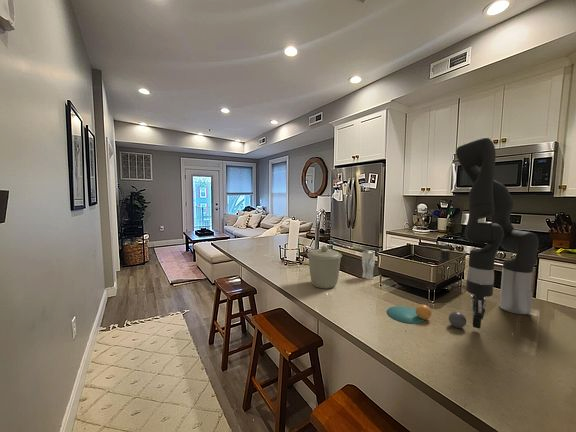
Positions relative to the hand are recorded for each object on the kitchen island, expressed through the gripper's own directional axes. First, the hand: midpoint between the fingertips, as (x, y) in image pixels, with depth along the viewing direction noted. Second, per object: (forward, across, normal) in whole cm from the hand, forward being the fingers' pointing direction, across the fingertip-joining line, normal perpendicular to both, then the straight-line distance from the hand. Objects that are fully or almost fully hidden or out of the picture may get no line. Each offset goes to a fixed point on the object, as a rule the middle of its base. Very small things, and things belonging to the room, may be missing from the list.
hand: (476, 326), depth 91 cm
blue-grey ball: (-1, 0, -6) cm, 6 cm away
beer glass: (+2, -36, -47) cm, 59 cm away
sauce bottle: (+2, -40, -10) cm, 41 cm away
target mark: (+2, 0, -23) cm, 23 cm away
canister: (+2, -13, -64) cm, 65 cm away
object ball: (-1, 0, -17) cm, 17 cm away
